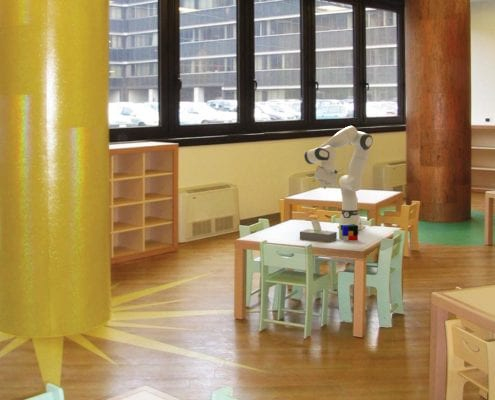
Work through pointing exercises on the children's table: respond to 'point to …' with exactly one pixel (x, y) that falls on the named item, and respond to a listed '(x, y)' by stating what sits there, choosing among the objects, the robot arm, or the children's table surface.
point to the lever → (315, 222)
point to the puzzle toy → (348, 232)
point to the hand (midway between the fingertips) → (323, 188)
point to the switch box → (318, 235)
